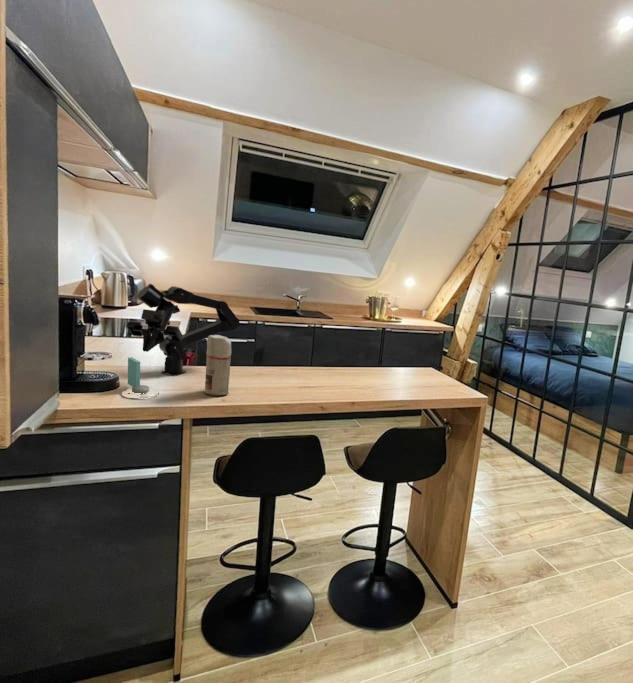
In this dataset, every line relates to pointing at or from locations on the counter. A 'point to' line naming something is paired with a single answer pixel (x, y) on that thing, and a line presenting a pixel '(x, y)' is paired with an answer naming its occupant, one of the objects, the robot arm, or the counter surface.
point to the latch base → (149, 393)
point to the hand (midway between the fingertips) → (144, 351)
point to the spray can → (217, 365)
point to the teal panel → (135, 376)
